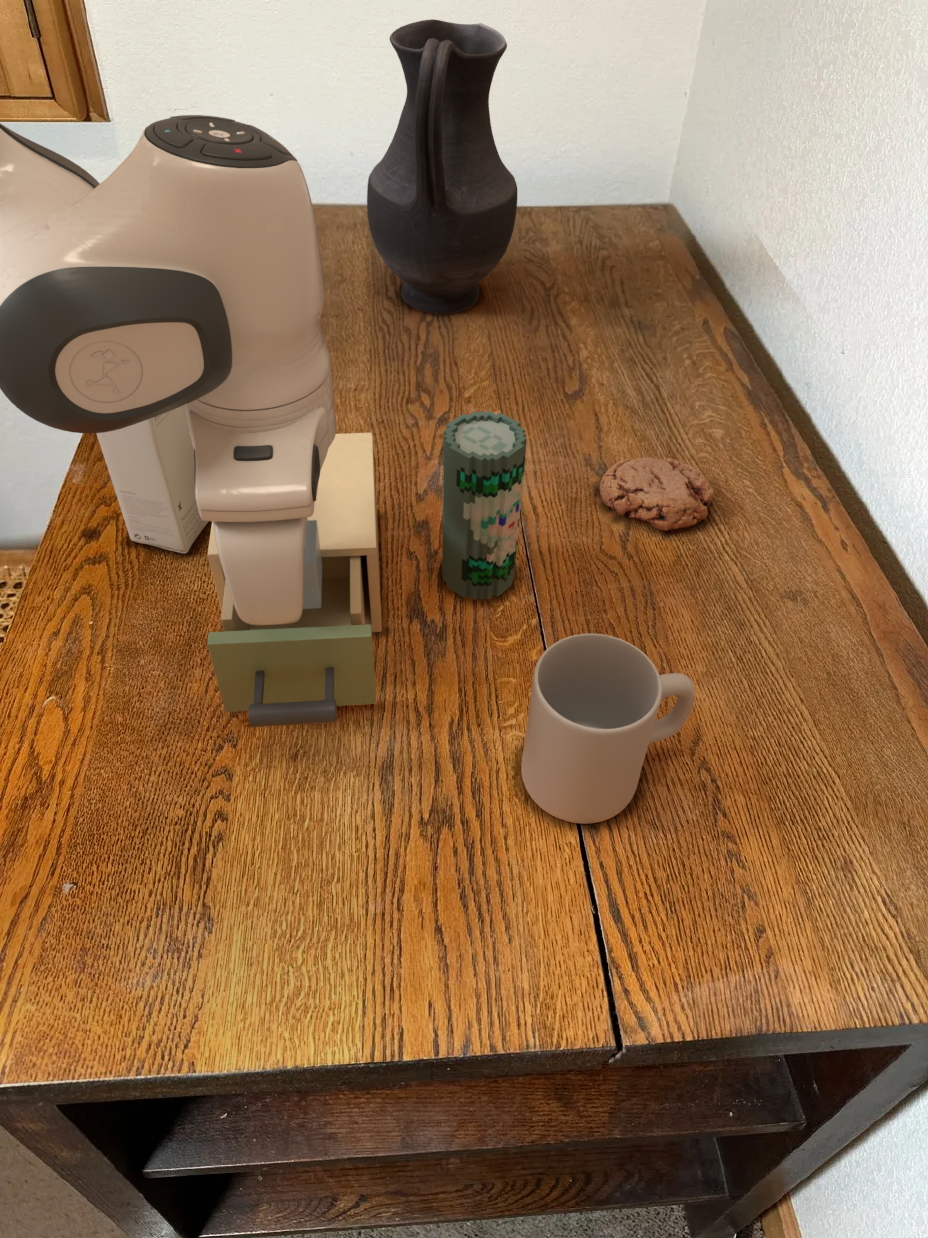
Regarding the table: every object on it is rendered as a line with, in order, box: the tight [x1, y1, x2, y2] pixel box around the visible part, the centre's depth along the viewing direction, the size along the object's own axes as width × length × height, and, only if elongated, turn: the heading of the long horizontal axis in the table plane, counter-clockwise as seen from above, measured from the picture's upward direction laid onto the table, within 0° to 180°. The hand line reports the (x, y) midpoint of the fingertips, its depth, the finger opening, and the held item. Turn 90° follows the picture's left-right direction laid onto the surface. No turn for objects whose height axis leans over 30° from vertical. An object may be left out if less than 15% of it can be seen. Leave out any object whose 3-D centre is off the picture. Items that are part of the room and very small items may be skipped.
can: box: [441, 410, 528, 601], centre depth 77 cm, size 6×6×15 cm
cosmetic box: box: [95, 405, 210, 554], centre depth 81 cm, size 8×6×15 cm
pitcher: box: [366, 18, 518, 315], centre depth 104 cm, size 17×21×30 cm
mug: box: [520, 632, 696, 825], centre depth 65 cm, size 12×8×11 cm
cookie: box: [599, 456, 715, 531], centre depth 89 cm, size 10×11×3 cm
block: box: [303, 520, 322, 609], centre depth 66 cm, size 4×4×4 cm
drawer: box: [206, 555, 377, 728], centre depth 71 cm, size 18×11×8 cm, turn 5°
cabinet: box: [207, 432, 383, 633], centre depth 78 cm, size 15×13×10 cm
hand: (287, 572), depth 67 cm, fingers closed on block, 4 cm apart
